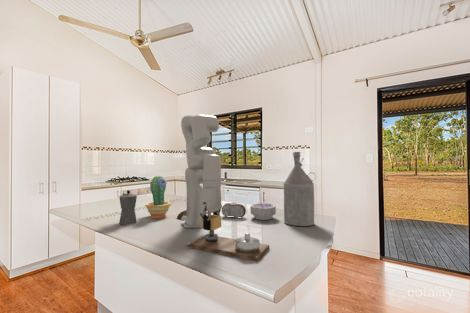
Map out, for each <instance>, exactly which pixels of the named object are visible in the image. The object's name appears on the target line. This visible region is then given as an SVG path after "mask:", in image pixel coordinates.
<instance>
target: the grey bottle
mask: <svg viewBox="0 0 470 313" xmlns="http://www.w3.org/2000/svg"><path fill="white" fill-rule="evenodd" d="M292 156H293V164H294V166H293V168H292V170H290V173H289V175H288V176H287V178H286V179H285V181H284V182H283V217H284V218H283V220H284V221H283V222H284V224H286V225H290V226H295V227H296V226H297V227H310V226H313V225H315V189H314V187H315V186H314V185H315V184H314V180H317V179H316V177H317V175H316V174H315V172H309V173H308V174H307V173H306V172H305V171H304V169H303V168H302V166H303V164H302V162H303V160H304V157H302V159H300V158H301V152H300V151H293V152H292ZM310 174H313V175H314V176H315V177H314V179H313V180H312V179H311V177H310V176H309V175H310Z"/></svg>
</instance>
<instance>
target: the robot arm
mask: <svg viewBox="0 0 470 313" xmlns="http://www.w3.org/2000/svg"><path fill="white" fill-rule="evenodd" d="M180 123H181V125H180V127H181V132H182V135H183V137H184V140H185V148H186V149H185V152H186V154H185V155H186V162H187V168H186V169H185V170H184V171H185V172H184V174H185V175H184V176H185V177H184V178H185V184H186V210H187V216H183V217H182V218H181V220H180V221H184V222H183V227H185V228H187V229H199V228H201V217H202V219H203V229H202V228H201V229H202V230H204V231H210V230H211V220H210V216H211V215H218V216H221V214H220V213H221V212H222V207H223V205H222V190H221V187H222V157H221V156H220V155H219V154H216V152H215V150H214V149H213V148H211V147H206V146H207V145H208V144H209V143H211V140H212V136H211V133H217V132H218V131H219V128H220V123H219V119H218V118H217V116H214V115H208V114H206V115H205V114H196V115H191V114H190V115H185V116H182V118H181V122H180ZM201 184H202V186H201ZM207 215H208V217H207Z"/></svg>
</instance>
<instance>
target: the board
mask: <svg viewBox="0 0 470 313" xmlns="http://www.w3.org/2000/svg"><path fill="white" fill-rule="evenodd" d="M236 239H237V238H231V237H230V238H229V237H225V236H218V241H216V242H207V241H206V234H205V235H202V236H201V237H199V238H197V239H195V240H192V241H191V242H189V243H188V248H191V249H195V250H199V251H204V252H208V253H209V252H210V253H212V254H213V253H215V254H220V255H223V256H227V257H231V258H232V257H233V258H238V259H243V260H247V261H253V262H255V263H256V262H258V261H260V260H261V258H262V257H264V255H265V254H266V253H267V252H268V251H269V250H270V244H267V243H266V244H265V243H260V242H259V251H258V252H256V253H250V254H246V253H240V252H238V251H236V250H235V240H236Z"/></svg>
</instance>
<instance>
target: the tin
mask: <svg viewBox="0 0 470 313" xmlns="http://www.w3.org/2000/svg"><path fill="white" fill-rule="evenodd" d="M246 212H247V209H246V207H245V206H244V205H243V203H242V204H241V203H229V202H227V203H224V204H223V205H222V208H221V214H222V215H223V216H224V217H225V216H234V217H242V218H243V217H244V216H245V215H246Z"/></svg>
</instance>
